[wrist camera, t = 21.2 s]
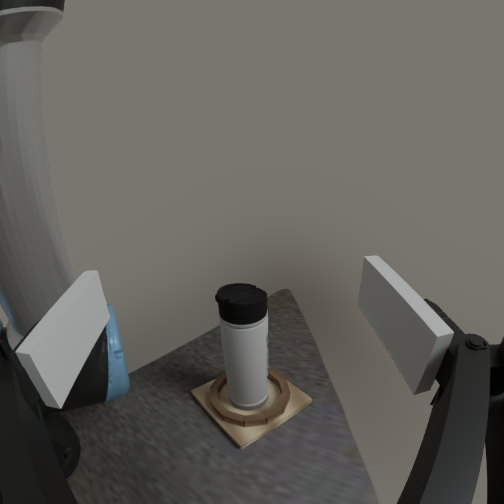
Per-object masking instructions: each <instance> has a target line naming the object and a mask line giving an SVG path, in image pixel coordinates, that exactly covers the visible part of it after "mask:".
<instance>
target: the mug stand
mask: <svg viewBox="0 0 504 504" xmlns="http://www.w3.org/2000/svg"><path fill="white" fill-rule="evenodd" d="M191 394H192V395H193V397H194V398H195V399H196V400H197V401H198V403H199V404H200V405H201V406H202V407H203V408H204V410H205V411H206V412H207V413H208V414H209V415H210V416H211V418H212V419H213V420H214V421H215V422H216V423H217V424H218V425H219V426H220V428H221V429H222V430H223V431H224V432H225V433H226V434H227V435H228V436H229V437H230V438H231V439H232V440H233V442H234V443H235V444H236V445H237V446H238V447H239V448H240V449H243V448H244V447H246V446H248V445H249V444H251V443H253V442H254V441H256V440H258V439H259V438H261V437H262V436H264V435H265V434H267V433H268V432H270V431H272V430H273V429H275V428H276V427H278V426H279V425H281V424H282V423H283V422H285V421H286V420H288V419H289V418H291V417H292V416H294V415H295V414H296V413H298V412H299V411H301V410H302V409H303V408H305V407H306V406H307V405H309V404H310V403H311V402H312V398H310V397H309V396H308V395H306V394H305V393H303V392H302V391H301V390H299V389H298V388H296V387H295V386H294V385H292V384H291V383H290V382H288V381H287V380H286V379H285V377H283V376H282V375H281V374H279V373H278V372H277V371H275V370H274V369H272V368H270V367H268V400H267V402H266V403H265V404H264V405H263V406H262V407H260V408H258V409H255V410H242V409H239V408H237V407H235V406H234V405H233V404H232V403H231V402H230V399H229V392H228V385H227V377H226V371H225V372H223V373H221V374H220V375H218V377H217V378H216V379H214V380H212V381H210V382H208V383H206V384H204V385H202V386H200V387H198V388H196V389H193V390H191Z"/></svg>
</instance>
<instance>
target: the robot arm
mask: <svg viewBox="0 0 504 504" xmlns="http://www.w3.org/2000/svg"><path fill="white" fill-rule="evenodd" d="M64 1H65V0H0V304H1V306H2V308H3V310H4V312H5V314H6V315H7V317H8V319H9V320H8V324H7V327H3V326H2V325H3V324H2V321H1V320H0V504H3V500H4V504H78V503H77V501H76V499H75V497H74V495H73V493H72V491H71V489H70V487H69V484H68V482H67V480H66V479H67V478H68V477H69V476H70V475H71V474H72V472H73V471H74V469H75V468H76V466H77V464H78V461H79V457H80V442H79V438H78V436H77V434H76V432H75V431H74V429H73V428H72V427H71V425H70V424H69V422H68V421H67V420H66V419H65V418H64V417H62V416H61V415H60V414H58V413H57V412H61V411H66V410H71V409H76V408H80V407H85V406H90V405H95V404H99V403H102V404H104V403H107V402H108V401H110V400H113V399H116V398H119V397H122V396H124V395H125V394H126V393H127V392H128V390H129V386H130V384H129V377H128V372H127V367H126V363H125V359H124V355H123V353H122V352H123V350H122V346H121V340H120V336H119V331H118V328H117V323H116V319H115V315H114V311H113V308H112V306H111V305H109V304H106V301H105V297H104V294H103V290H102V286H101V283H100V278H99V275H98V271H85V272H84V273H83V274H82V275H81V276H80V277H79V278H78V279H77V280H75V277H74V274H73V271H72V268H71V265H70V262H69V258H68V254H67V251H66V248H65V244H64V240H63V236H62V232H61V228H60V224H59V220H58V216H57V211H56V206H55V201H54V197H53V191H52V186H51V180H50V175H49V168H48V162H47V155H46V146H45V138H44V127H43V114H42V97H41V54H42V42H43V40H44V39H45V37H46V36H47V35H48V34H49V32H51V30H52V29H53V28H54V27H55V26H56V25H57V24H58V23H59V22H60V21H61V20H62V18H63V9H64ZM358 306H359V308H360V309H361V311H362V312H363V314H364V315H365V317H366V318H367V320H368V321H369V323H370V325H371V326H372V328H373V329H374V331H375V332H376V334H377V335H378V337H379V338H380V340H381V342H382V343H383V345H384V346H385V348H386V350H387V351H388V353H389V354H390V355H391V358H392V359H393V361H394V362H395V364H396V366H397V368H398V369H399V371H400V372H401V374H402V376H403V377H404V379H405V381H406V382H407V384H408V385H409V387H410V389H411V391H412V393H413V394H414V395H416V394H419V393H422V392H426V391H429V390H430V389H431V387H432V385H433V383H434V380H435V379H436V380H437V381H438V383H439V384H440V386H439V388H438V390H437V392H436V394H435V396H434V398H433V400H432V402H431V404H430V405H433V408H432V411H431V415H430V418H429V422H428V425H427V428H426V431H425V434H424V437H423V440H422V443H421V446H420V449H419V452H418V455H417V457H416V460H415V463H414V465H413V468H412V470H411V473H410V475H409V478H408V480H407V482H406V485H405V487H404V489H403V491H402V494H401V496H400V498H399V500H398V502H397V504H471V503H472V499H473V495H474V492H475V488H476V484H477V480H478V475H479V471H480V465H481V461H482V455H483V449H484V443H485V447H486V458H487V459H486V460H487V504H504V337H503V340H502V342H501V344H498V345H489V344H488V342H487V341H486V340H485V339H484V338H482V337H481V336H478V335H476V334H464V333H463V332H462V330H460V329H459V327H458V326H457V325H456V324H455V323H454V322H453V321H452V320H451V319H450V318H448V316H447V315H446V314H445V313H444V312H443V311H442V310H441V309H440V308H439V307H438V306H437V305H436V304H435V303H433V302H431V301H429V300H428V299H422V298H421V297H420V296H419V295H418V294H417V293H416V292H415V291H414V290H413V289H412V288H411V287H410V286H409V285H408V284H407V283H406V282H405V281H404V280H403V279H402V278H401V277H400V276H399V275H398V274H397V273H395V271H393V270H392V269H391V268H390V267H389V266H388V265H387V264H386V263H385V262H384V261H383V260H382V259H381V258H380V257H379V256H364V261H363V270H362V278H361V285H360V292H359V299H358ZM433 403H434V404H433Z"/></svg>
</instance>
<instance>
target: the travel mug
mask: <svg viewBox="0 0 504 504" xmlns="http://www.w3.org/2000/svg"><path fill="white" fill-rule="evenodd" d="M215 299H216V301H217V302H218V306H219V319H220V328H221V337H222V345H223V354H224V362H225V369H226V377H227V385H228V392H229V399H230V402H231V403H232V404H233V405H234V406H235V407H237V408H239V409H242V410H255V409H258V408H260V407H262V406H263V405H264V404H265V403H266V402H267V400H268V309H267V293H266V292H265V291H263V290H261V289H260V288H256V286H254V285H251V284H244V283H235V284H228V285H225V286H223V287H221V288H220V289H219V290H218V292H217V294H216V296H215Z"/></svg>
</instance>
